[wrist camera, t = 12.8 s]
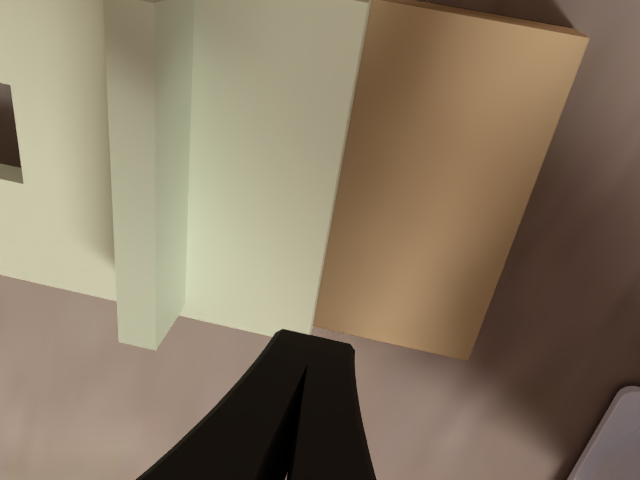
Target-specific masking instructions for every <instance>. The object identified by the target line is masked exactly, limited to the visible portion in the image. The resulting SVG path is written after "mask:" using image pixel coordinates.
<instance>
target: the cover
mask: <svg viewBox="0 0 640 480" xmlns="http://www.w3.org/2000/svg"><path fill="white" fill-rule="evenodd" d="M370 5H371V0H0V83H3V84H8V85H10V86H11V94H12V101H13V108H14V116H15V123H16V131H17V138H18V146H19V153H20V161H21V168H19V167H14V166H10V165H5V164H0V275H4V276H8V277H13V278H17V279H21V280H26V281H30V282H35V283H39V284H43V285H48V286H52V287H57V288H61V289H65V290H70V291H74V292H78V293H83V294H87V295H92V296H96V297H100V298H105V299H109V300H114V301H117V316H118V338H119V342H121V343H126V344H130V345H134V346H138V347H143V348H147V349H151V350H156V349H157V348H158V346H159V345H160V343H161V342H162V340H163V339H164V337H165V336H166V334H167V332H168V331H169V329H170V328H171V326H172V325H173V323H174V322H175V320H176V319H177V317H178V316H184V317H188V318H192V319H197V320H201V321H206V322H210V323H214V324H219V325H223V326H227V327H232V328H236V329H241V330H245V331H249V332H254V333H258V334H263V335H267V336H271V337H273V336H274V334H275V333H276V332H277V331H279V330H281V329H286V330H290V331H295V332H299V333H304V334H308V335H310V334H311V330H312V327H313V321H314V316H315V310H316V305H317V299H318V294H319V288H320V283H321V277H322V271H323V266H324V260H325V255H326V249H327V244H328V238H329V233H330V227H331V222H332V216H333V210H334V205H335V199H336V194H337V188H338V183H339V177H340V172H341V166H342V161H343V155H344V149H345V144H346V138H347V133H348V127H349V122H350V116H351V111H352V105H353V100H354V94H355V88H356V83H357V77H358V72H359V66H360V61H361V55H362V50H363V44H364V38H365V33H366V27H367V22H368V16H369V11H370Z"/></svg>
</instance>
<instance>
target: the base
mask: <svg viewBox="0 0 640 480" xmlns="http://www.w3.org/2000/svg"><path fill="white" fill-rule="evenodd" d="M589 39H590V38H589V37H587V36H586V35H584V34H582V33H581V32H579V31H578V30H576V29H573V28H567V27H562V26H556V25H551V24H545V23H540V22H534V21H529V20H523V19H518V18H512V17H506V16H501V15H495V14H490V13H484V12H479V11H473V10H468V9H462V8H457V7H451V6H445V5H440V4H434V3H429V2H423V1H418V0H371V5H370V11H369V16H368V22H367V27H366V33H365V38H364V44H363V50H362V55H361V61H360V66H359V72H358V77H357V83H356V88H355V94H354V100H353V105H352V111H351V116H350V122H349V127H348V133H347V138H346V144H345V149H344V155H343V161H342V166H341V172H340V177H339V183H338V188H337V194H336V199H335V205H334V210H333V216H332V222H331V227H330V233H329V238H328V244H327V249H326V255H325V260H324V266H323V271H322V277H321V283H320V288H319V294H318V299H317V305H316V310H315V316H314V321H313V326H315V327H319V328H324V329H328V330H332V331H337V332H341V333H346V334H350V335H355V336H359V337H363V338H368V339H372V340H377V341H381V342H386V343H390V344H394V345H399V346H403V347H408V348H412V349H417V350H421V351H426V352H430V353H434V354H439V355H443V356H448V357H452V358H457V359H461V360H465V361H468V360H469V358H470V355H471V352H472V350H473V347H474V344H475V342H476V339H477V336H478V334H479V331H480V328H481V326H482V323H483V320H484V318H485V315H486V312H487V310H488V307H489V304H490V302H491V299H492V297H493V294H494V291H495V289H496V286H497V283H498V281H499V278H500V275H501V273H502V270H503V267H504V265H505V262H506V259H507V257H508V254H509V251H510V249H511V246H512V243H513V241H514V238H515V235H516V233H517V230H518V227H519V225H520V222H521V219H522V217H523V214H524V212H525V209H526V206H527V204H528V201H529V198H530V196H531V193H532V190H533V188H534V185H535V182H536V180H537V177H538V174H539V172H540V169H541V166H542V164H543V161H544V158H545V156H546V153H547V150H548V148H549V145H550V142H551V140H552V137H553V134H554V132H555V129H556V127H557V124H558V121H559V119H560V116H561V113H562V111H563V108H564V105H565V103H566V100H567V97H568V95H569V92H570V89H571V87H572V84H573V81H574V79H575V76H576V73H577V71H578V68H579V65H580V63H581V60H582V57H583V55H584V52H585V50H586V47H587V44H588V42H589Z"/></svg>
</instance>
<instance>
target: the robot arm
mask: <svg viewBox="0 0 640 480" xmlns="http://www.w3.org/2000/svg"><path fill="white" fill-rule="evenodd" d="M287 472H288V473H287ZM286 475H287V480H376V476H375V473H374V469H373V465H372V461H371V458H370V454H369V449H368V445H367V440H366V436H365V432H364V427H363V423H362V418H361V412H360V407H359V400H358V394H357V387H356V378H355V350H354V349H353V347H352V346H351V345H350V344H348V343H343V342H339V341H335V340H330V339H326V338H321V337H317V336H313V335H308V334H304V333H299V332H295V331H290V330H286V329H281V330H279V331H277V332H276V333H275V334H274V336H273V337H272V339H271V340H270V342H269V343H268V345H267V346H266V347H265V349H264V350H263V351H262V353H261V354H260V355H259V357H258V358H257V359H256V360H255V362H254V363H253V364H252V365H251V367H250V368H249V369H248V370H247V371H246V373H245V374H244V375H243V376H242V377H241V378H240V380H239V381H238V382H237V383H236V384H235V385H234V386H233V387H232V388H231V389H230V391H229V392H228V393H227V394H226V395H225V396H224V397H223V398H222V399H221V400H220V401H219V403H218V404H217V405H216V406H215V407H214V408H213V409H212V410H211V411H210V412H209V413H208V414H207V415H206V416H205V417H204V418H203V419H202V420H201V421H200V422H199V423H198V424H197V425H196V426H195V427H194V428H193V429H192V430H190V431H189V432H188V433H187V434H186V435H185V436H184V437H183V438H182V439H181V440H180V441H179V442H178V443H177V444H176V445H175V446H174V447H173V448H172V449H171V450H169V451H168V452H167V453H166V454H165V455H164V456H163V457H162V458H160V459H159V460H158V461H157V462H156V463H155V464H154V465H152V466H151V467H150V468H149V469H148V470H147V471H146V472H144V473H143V474H142V475H141V476H139V477H138V478H137V479H136V480H285V478H286ZM567 480H640V387H638V386H627V387H624V388H622V389H620V390H619V392H618V393H617V394H616V396H615V398H614V399H613V401H612V403H611V405H610V406H609V408H608V410H607V411H606V413H605V415H604V417H603V418H602V420H601V422H600V423H599V425H598V427H597V429H596V430H595V432H594V434H593V436H592V437H591V439H590V441H589V442H588V444H587V446H586V448H585V449H584V451H583V453H582V455H581V456H580V458H579V460H578V461H577V463H576V465H575V467H574V468H573V470H572V472H571V474H570V475H569V477H568V479H567Z"/></svg>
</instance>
